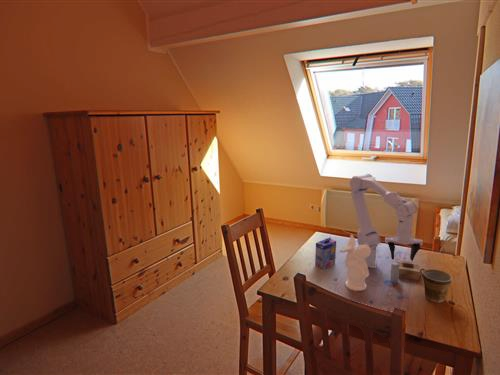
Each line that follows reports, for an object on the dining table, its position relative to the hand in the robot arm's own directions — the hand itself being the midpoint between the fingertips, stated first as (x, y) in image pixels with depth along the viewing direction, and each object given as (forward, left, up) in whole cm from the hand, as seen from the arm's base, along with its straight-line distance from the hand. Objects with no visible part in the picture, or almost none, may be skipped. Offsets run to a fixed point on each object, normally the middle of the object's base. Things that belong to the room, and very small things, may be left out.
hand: (402, 259), depth 138 cm
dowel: (-2, -2, -10) cm, 10 cm away
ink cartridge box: (-33, +3, -10) cm, 35 cm away
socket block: (+3, +7, -10) cm, 12 cm away
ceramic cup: (+11, -9, -10) cm, 18 cm away
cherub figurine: (-19, -13, -10) cm, 25 cm away
